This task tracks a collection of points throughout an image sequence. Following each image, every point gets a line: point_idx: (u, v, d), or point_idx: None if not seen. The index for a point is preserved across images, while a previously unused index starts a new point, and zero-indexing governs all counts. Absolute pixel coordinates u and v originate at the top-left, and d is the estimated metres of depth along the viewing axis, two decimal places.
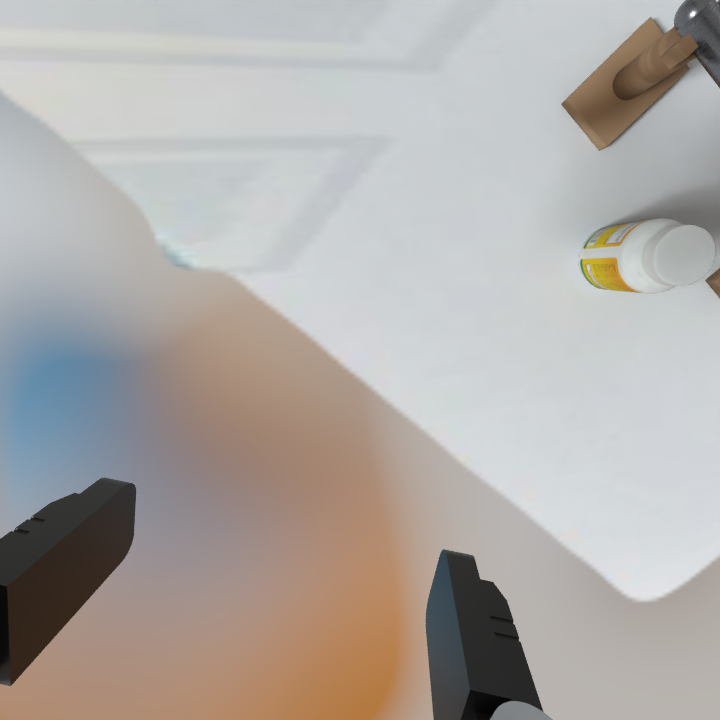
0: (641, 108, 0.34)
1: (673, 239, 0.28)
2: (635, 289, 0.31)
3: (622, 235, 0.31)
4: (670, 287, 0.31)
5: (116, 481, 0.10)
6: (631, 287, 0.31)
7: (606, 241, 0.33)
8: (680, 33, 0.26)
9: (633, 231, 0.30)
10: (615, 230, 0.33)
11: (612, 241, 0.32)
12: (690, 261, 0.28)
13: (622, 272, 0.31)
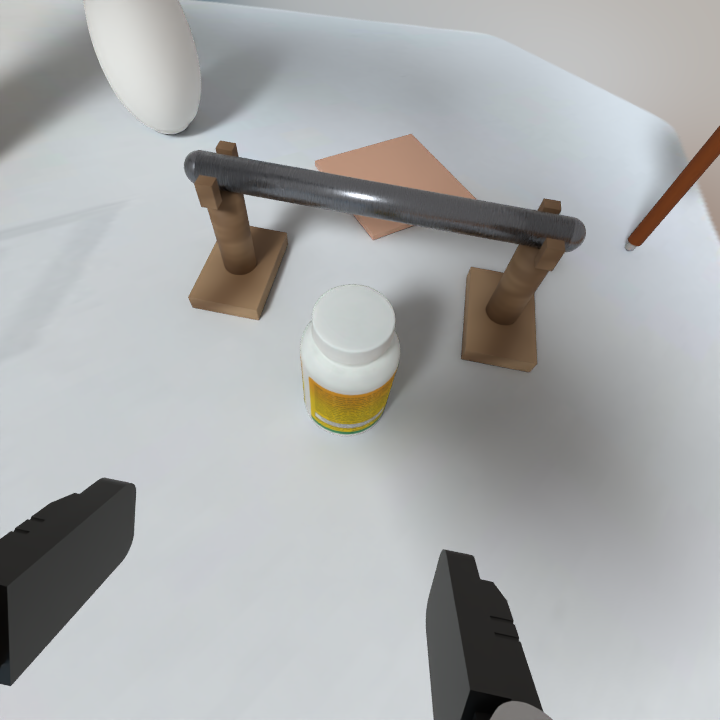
0: (267, 271, 0.32)
1: (325, 309, 0.20)
2: (357, 392, 0.21)
3: None
4: (390, 364, 0.21)
5: (116, 481, 0.10)
6: (351, 393, 0.21)
7: None
8: None
9: (301, 339, 0.22)
10: None
11: None
12: (365, 317, 0.20)
13: (324, 384, 0.21)
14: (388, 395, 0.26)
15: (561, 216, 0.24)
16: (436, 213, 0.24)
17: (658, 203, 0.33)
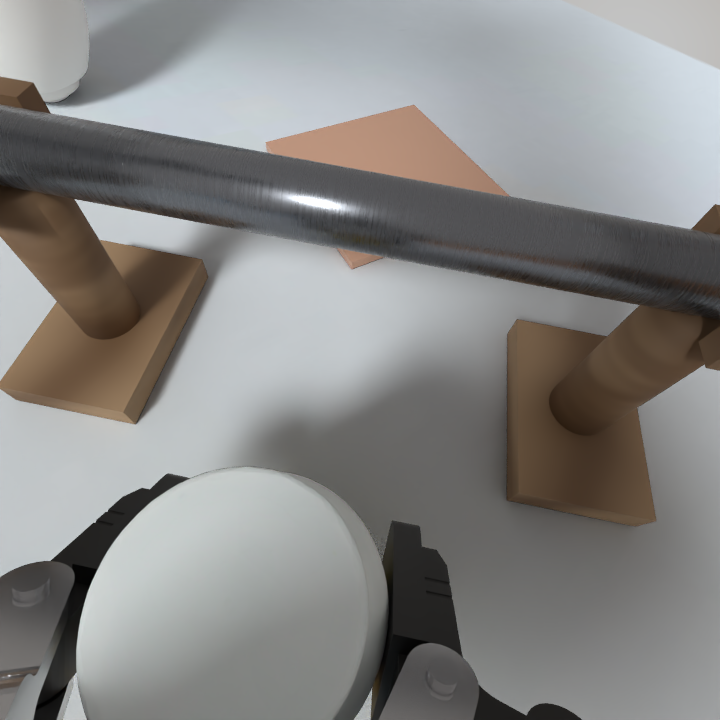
0: (157, 332, 0.18)
1: (135, 578, 0.06)
2: None
3: None
4: (358, 688, 0.07)
5: (180, 477, 0.11)
6: None
7: None
8: None
9: None
10: None
11: None
12: (267, 610, 0.06)
13: None
14: None
15: None
16: (477, 240, 0.10)
17: None
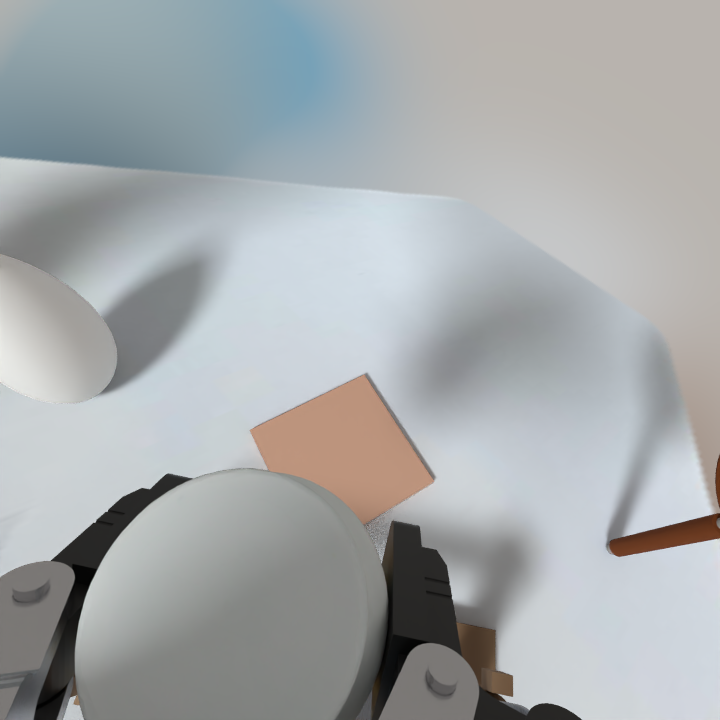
0: None
1: (133, 581, 0.06)
2: None
3: None
4: (358, 690, 0.07)
5: (180, 477, 0.11)
6: None
7: None
8: None
9: None
10: None
11: None
12: (266, 613, 0.06)
13: None
14: None
15: None
16: None
17: (642, 539, 0.28)
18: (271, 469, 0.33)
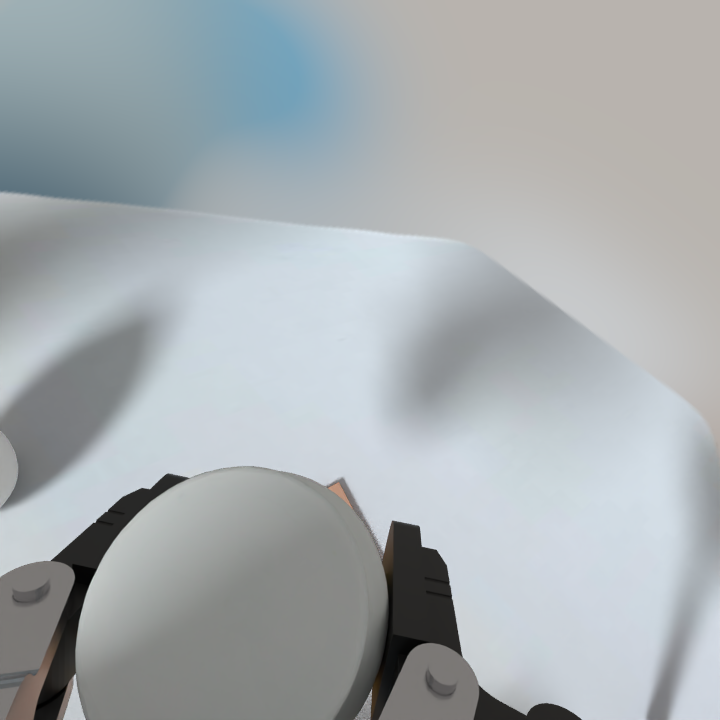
0: None
1: (134, 579, 0.06)
2: None
3: None
4: (358, 688, 0.07)
5: (180, 477, 0.11)
6: None
7: None
8: None
9: None
10: None
11: None
12: (267, 610, 0.06)
13: None
14: None
15: None
16: None
17: None
18: None
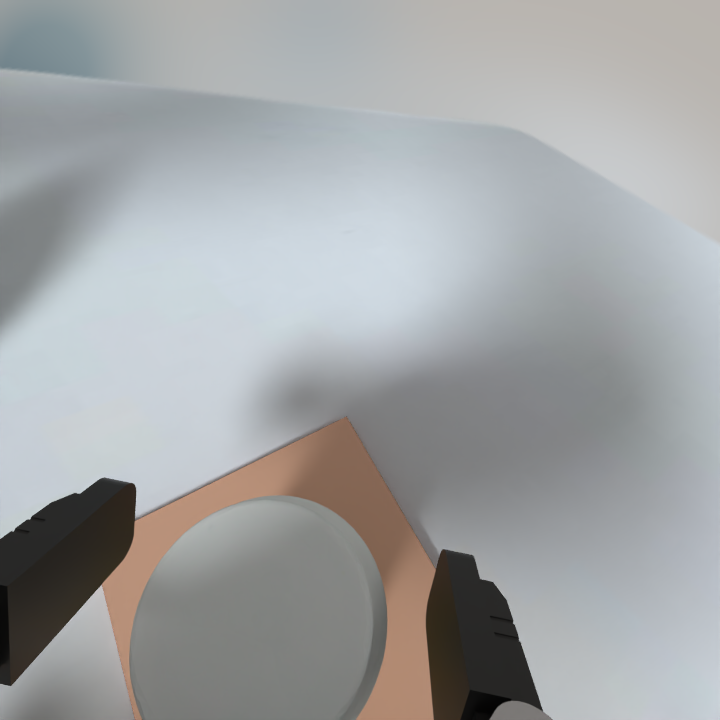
0: None
1: (175, 600, 0.07)
2: None
3: None
4: (363, 687, 0.09)
5: (116, 481, 0.10)
6: None
7: None
8: None
9: None
10: None
11: None
12: (288, 624, 0.07)
13: None
14: None
15: None
16: None
17: None
18: (124, 646, 0.14)
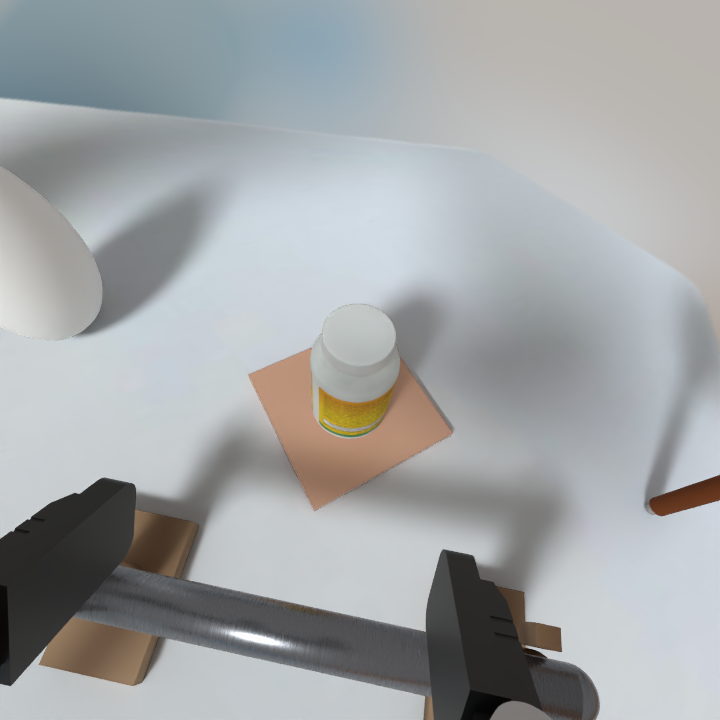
0: None
1: (334, 327, 0.23)
2: (363, 400, 0.24)
3: None
4: (392, 373, 0.24)
5: (116, 481, 0.10)
6: (358, 401, 0.24)
7: (311, 384, 0.27)
8: None
9: None
10: None
11: None
12: (369, 334, 0.23)
13: (334, 394, 0.24)
14: None
15: (561, 685, 0.15)
16: (366, 679, 0.15)
17: (693, 491, 0.25)
18: (271, 416, 0.30)
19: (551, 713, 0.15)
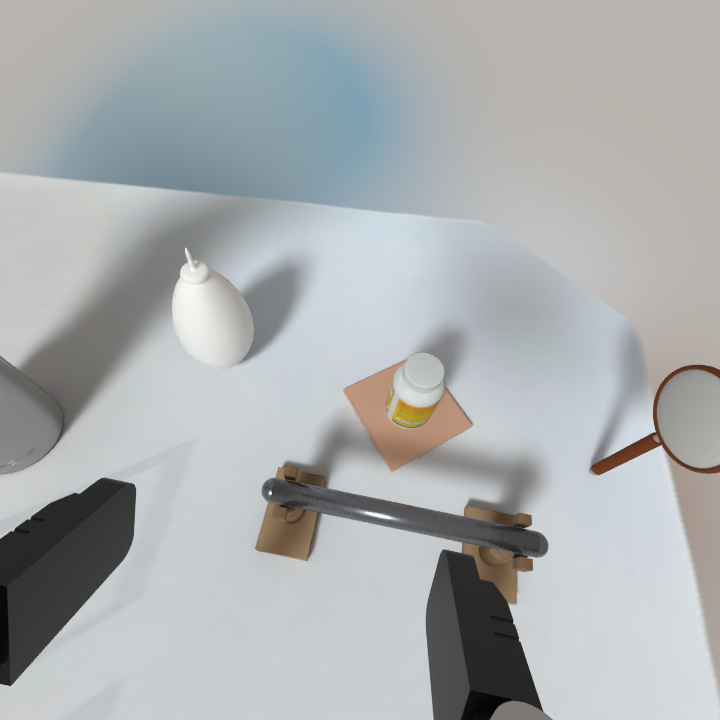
0: (312, 519, 0.42)
1: (410, 366, 0.41)
2: (425, 406, 0.42)
3: (392, 386, 0.44)
4: (441, 391, 0.43)
5: (116, 481, 0.10)
6: (422, 406, 0.42)
7: (390, 397, 0.45)
8: None
9: (393, 379, 0.43)
10: None
11: (391, 393, 0.45)
12: (430, 370, 0.41)
13: (409, 402, 0.42)
14: None
15: (531, 537, 0.34)
16: (442, 534, 0.34)
17: (612, 458, 0.43)
18: (361, 415, 0.49)
19: (526, 548, 0.34)
